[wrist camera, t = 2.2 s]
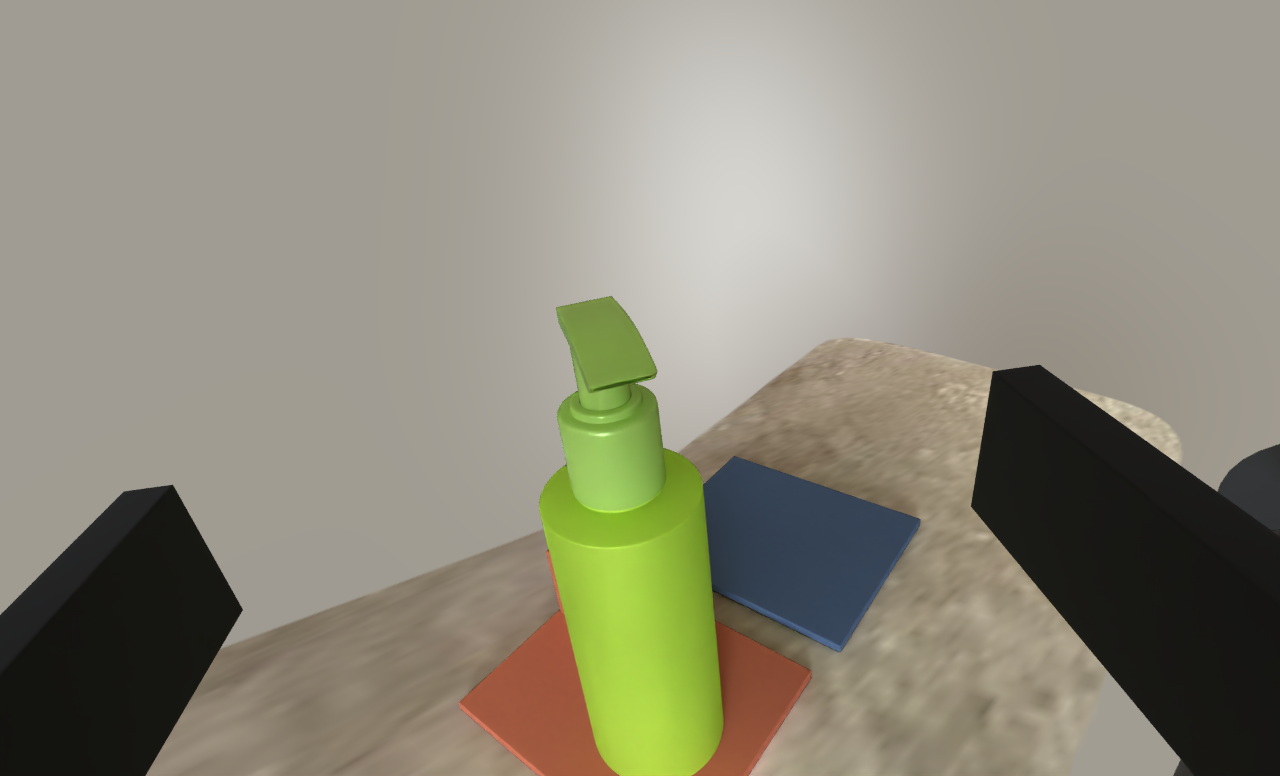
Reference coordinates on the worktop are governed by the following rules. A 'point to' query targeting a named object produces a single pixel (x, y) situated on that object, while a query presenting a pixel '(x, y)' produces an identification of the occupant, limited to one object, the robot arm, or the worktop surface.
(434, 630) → the worktop surface
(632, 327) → the soap dispenser
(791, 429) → the worktop surface
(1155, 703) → the robot arm
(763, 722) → the terracotta mat
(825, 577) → the slate mat
